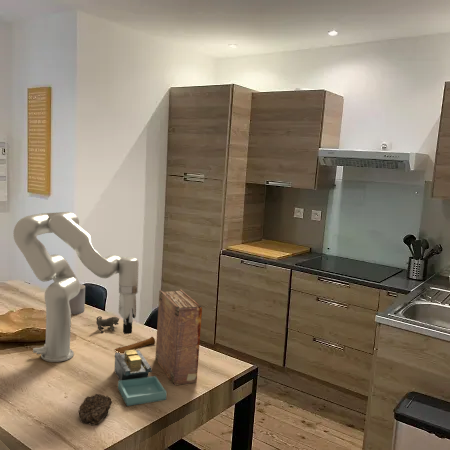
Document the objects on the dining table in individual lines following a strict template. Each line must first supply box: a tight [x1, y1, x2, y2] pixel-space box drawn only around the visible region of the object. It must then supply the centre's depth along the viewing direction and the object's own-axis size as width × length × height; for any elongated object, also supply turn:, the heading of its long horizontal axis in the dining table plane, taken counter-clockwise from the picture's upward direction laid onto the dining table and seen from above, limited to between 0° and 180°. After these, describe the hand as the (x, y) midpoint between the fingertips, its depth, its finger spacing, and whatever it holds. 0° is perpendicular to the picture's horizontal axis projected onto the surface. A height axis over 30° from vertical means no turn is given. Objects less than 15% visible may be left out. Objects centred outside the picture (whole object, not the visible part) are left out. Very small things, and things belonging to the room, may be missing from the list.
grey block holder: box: [114, 349, 153, 381], centre depth 179 cm, size 10×17×7 cm, turn 26°
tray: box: [117, 375, 167, 407], centre depth 167 cm, size 14×13×3 cm
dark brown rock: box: [78, 393, 113, 426], centre depth 152 cm, size 12×10×5 cm
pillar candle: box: [69, 283, 86, 315], centre depth 249 cm, size 10×10×15 cm
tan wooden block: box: [128, 355, 141, 368], centre depth 176 cm, size 4×4×3 cm
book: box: [155, 289, 203, 386], centre depth 187 cm, size 25×9×30 cm, turn 24°
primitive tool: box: [114, 336, 156, 354], centre depth 209 cm, size 19×6×4 cm, turn 135°
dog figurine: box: [96, 315, 120, 334], centre depth 226 cm, size 12×6×7 cm, turn 125°
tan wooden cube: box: [124, 349, 138, 362], centre depth 181 cm, size 4×4×3 cm
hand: (127, 333), depth 189 cm, fingers closed
